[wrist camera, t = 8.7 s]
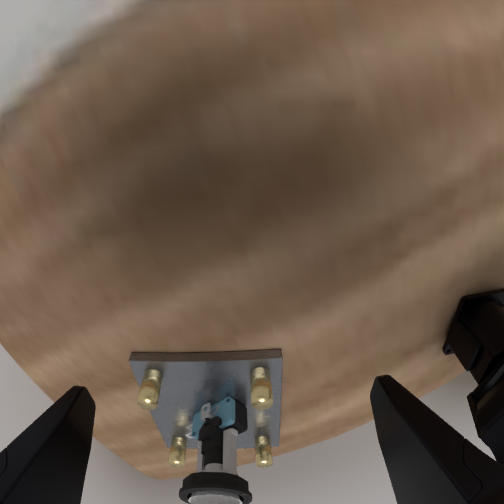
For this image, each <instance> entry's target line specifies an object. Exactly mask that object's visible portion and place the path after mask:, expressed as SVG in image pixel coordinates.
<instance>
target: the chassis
mask: <svg viewBox="0 0 504 504" xmlns="http://www.w3.org/2000/svg"><path fill="white" fill-rule="evenodd" d="M129 362H130V365H131V368H132V370H133V373H134V375H135V378H136V380H137V382H138V385H139V387H140V390H139V394H138V398H137V404H138V405H139V406H140V407H142V408H144V409H147V410H150V412H151V414H152V417H153V419H154V421H155V423H156V425H157V427H158V429H159V431H160V433H161V435H162V437H163V440H164V442H165V443H166V445H167V447H170V456H169V465H171V466H173V467H178V468H181V467H184V466H185V456H186V448H192V449H198V446H197V443H198V441H199V440H197V439H195V438H188V437H186V436H185V434H187V433H190V432H191V431H190V430H188V429H187V428H186V426H189V425H191V424H192V423H193V417H194V415H195V414H196V413H198V412H200V411H201V407H202V406H203V405H205V404H207V403H210V404H211V406H212V405H214V404H216V403H218V402H220V401H222V400H224V399H225V398H227V397H231V398H232V399H234V400H236V401H237V402H239V403H240V404H242V405H243V406H245V407H246V408H247V421H248V429H247V430H246V431H245V432H243V433H241V434H238V436H236V448H237V449H238V448H255V456H256V466H258V467H268V466H271V465H272V452H271V447H275V446H279V432H280V408H281V378H282V354H281V349H272V350H256V351H237V352H208V353H139V352H132V353H131V356H130V359H129ZM206 408H207V407H205V409H206ZM190 428H192V427H190ZM190 436H191V434H190Z"/></svg>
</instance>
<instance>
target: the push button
mask: <svg viewBox="0 0 504 504" xmlns="http://www.w3.org/2000/svg"><path fill="white" fill-rule="evenodd" d="M205 407H207V408H206V409H205ZM190 427H192V428H190ZM186 428H187V429H188V430H190V431H191V432H190V433H187V434H185V436H186V437H188V438H195V439H197V440H199V441H198V443H197V446H198V460H197V472H196V473H192V474H190V475H189V476H188V477H186V478H185V479H184V480H183V487H182V488H181V489H180V491H179V497H180V499H181V500H183V501H185V502H187V503H189V504H249V503H250V502H251V501H252V494H251V493H250V492H249V490H248V482H247V481H246V480H244V479H243V478H241V477H239V476H238V474H237V448H236V436H238V434H241V433H243V432H245V431H246V430H247V429H248V421H247V408H246V407H245V406H243V405H242V404H240V403H239V402H237V401H236V400H234V399H232V398H231V397H227V398H225V399H224V400H222V401H220V402H218V403H216V404H214V405H212V406H211V404H210V403H207V404H205V405H203V406H202V407H201V411H200V412H198V413H196V414H195V415H194V417H193V423H192V424H191V425H189V426H186ZM190 434H191V436H190Z"/></svg>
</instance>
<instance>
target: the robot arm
mask: <svg viewBox="0 0 504 504" xmlns="http://www.w3.org/2000/svg"><path fill="white" fill-rule="evenodd" d="M443 352H444V354H445V355H449V354H453V353H455V355H456V356H457V358H458V359H459V361H460V362H461V364H462V365H463V367H464V368H465V370H466V371H470V372H471V374H472V376H473V377H474V379H475V380H476V382H477V383H478V386H477V388H475V390H474V391H473V392H471V393H470V394H469V395H468V396H467V399H468V402H469V406H470V410H471V413H472V416H473V420H474V423H475V427H476V430H477V434H478V437H479V438H480V439H481V440H482V441H483V442H484V443H485V444H486V445H487V446H488V447H489V448H490V449H491V451H492V452H493V454H494V456H495V459H496V461H495V460H494V459H492V458H490V457H489V456H488V455H486V454H485V453H483V452H482V451H481V450H479V449H478V448H477V447H476V446H474V445H473V444H472V443H471V442H469V441H468V440H467V439H464V437H463V436H462V435H461V434H460V433H458V432H457V431H456V430H455V429H454V428H452V427H451V426H450V425H448V423H446V422H445V421H444V420H443V419H442V418H440V417H439V416H438V415H437V414H436V413H434V412H433V411H432V410H431V409H430V408H428V407H427V406H426V405H425V404H424V403H422V402H421V401H420V400H419V399H418V398H416V397H415V396H414V395H413V394H412V393H410V392H409V391H408V390H407V389H406V388H404V387H403V386H402V385H401V384H400V383H398V382H397V381H396V380H395V379H394V378H392V377H391V376H390V375H382V376H377V377H376V378H375V380H374V383H373V386H372V390H371V393H370V400H371V405H372V410H373V415H374V420H375V426H376V431H377V436H378V440H379V444H380V447H381V450H382V454H383V457H384V460H385V463H386V466H387V469H388V473H389V477H390V480H391V483H392V487H393V490H394V493H395V497H396V501H397V504H504V290H499V291H493V292H488V293H482V294H477V295H471V296H466V297H464V298H462V300H461V302H460V305H459V308H458V310H457V313H456V316H455V319H454V322H453V325H452V327H451V330H450V333H449V335H448V338H447V341H446V343H445V346H444V348H443ZM95 409H96V407H95V402H94V400H93V398H92V397H91V395H90V393H89V392H88V390H87V388H86V387H84V386H73V387H72V388H71V389H69V390H68V391H67V392H66V393H65V394H64V395H63V396H62V397H61V398H59V399H58V400H57V401H56V402H55V403H54V404H53V405H52V406H51V407H50V408H48V409H47V410H46V411H45V412H44V413H43V414H42V415H41V416H40V417H39V418H37V419H36V420H35V421H34V422H33V423H32V424H31V425H30V426H29V427H28V428H26V429H25V430H24V431H23V432H22V433H21V434H20V435H19V436H18V437H17V438H16V439H14V440H13V441H12V442H11V443H10V444H9V445H8V446H7V448H5V449H4V450H2V451H1V452H0V504H80V502H81V497H82V491H83V485H84V480H85V475H86V469H87V464H88V459H89V455H90V450H91V443H92V434H93V425H94V417H95Z"/></svg>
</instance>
